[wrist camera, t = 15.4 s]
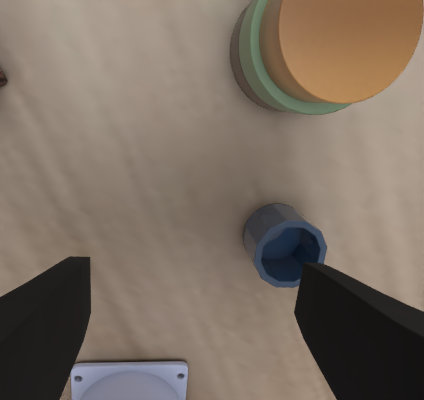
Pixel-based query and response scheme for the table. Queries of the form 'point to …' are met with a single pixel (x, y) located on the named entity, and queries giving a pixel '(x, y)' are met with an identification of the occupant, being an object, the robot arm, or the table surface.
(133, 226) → the table surface
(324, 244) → the small cup
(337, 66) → the orange short cylinder
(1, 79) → the letter holder
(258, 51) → the sage chip
